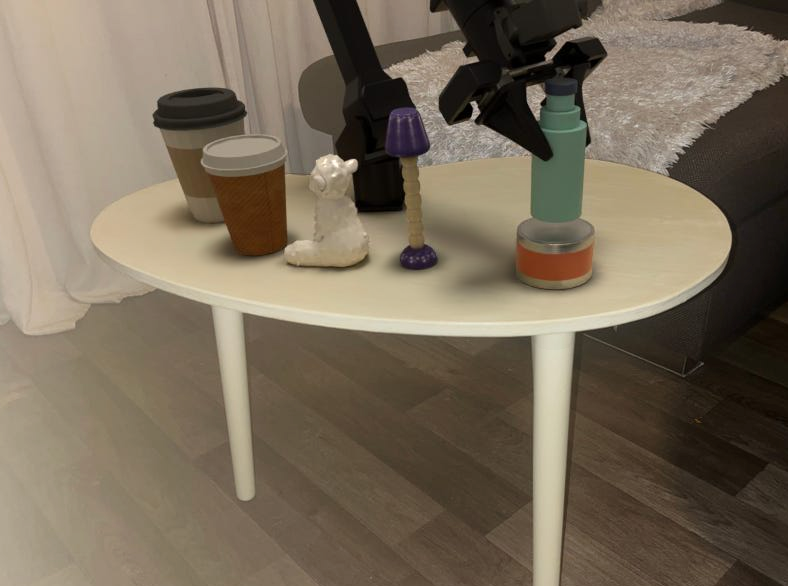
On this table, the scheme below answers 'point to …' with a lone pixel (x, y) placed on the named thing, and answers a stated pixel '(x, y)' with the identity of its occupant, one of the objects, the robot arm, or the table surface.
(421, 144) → the toy lamp
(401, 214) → the table surface
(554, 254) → the can
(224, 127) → the coffee cup
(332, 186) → the white creature statuette
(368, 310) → the table surface
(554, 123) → the bottle
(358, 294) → the table surface
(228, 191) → the disposable coffee cup
